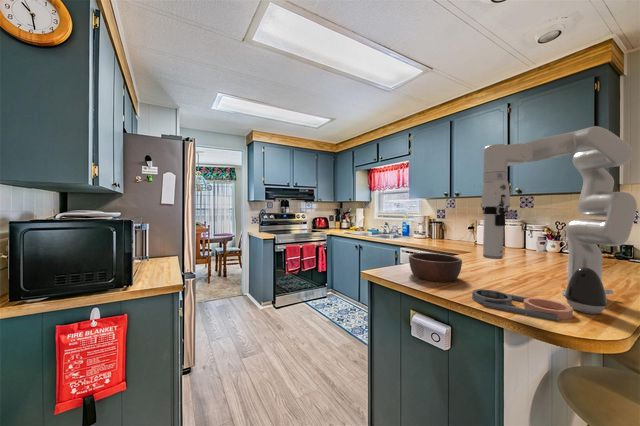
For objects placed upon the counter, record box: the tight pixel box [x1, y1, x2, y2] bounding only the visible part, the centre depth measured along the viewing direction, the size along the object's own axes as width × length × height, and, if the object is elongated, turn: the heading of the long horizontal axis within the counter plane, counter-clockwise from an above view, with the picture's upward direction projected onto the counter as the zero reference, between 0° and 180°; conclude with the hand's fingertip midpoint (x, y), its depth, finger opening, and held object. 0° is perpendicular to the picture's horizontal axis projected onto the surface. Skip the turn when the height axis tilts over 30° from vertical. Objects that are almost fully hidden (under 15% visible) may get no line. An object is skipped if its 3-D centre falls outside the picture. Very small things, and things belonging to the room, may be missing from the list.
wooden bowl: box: [408, 252, 463, 283], centre depth 133 cm, size 25×25×10 cm
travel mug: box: [482, 207, 504, 260], centre depth 98 cm, size 6×7×20 cm
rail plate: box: [471, 288, 559, 322], centre depth 96 cm, size 24×17×2 cm
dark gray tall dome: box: [564, 268, 608, 315], centre depth 90 cm, size 10×10×15 cm
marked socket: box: [523, 297, 574, 320], centre depth 90 cm, size 12×12×2 cm
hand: (493, 224), depth 98 cm, fingers closed on travel mug, 6 cm apart
